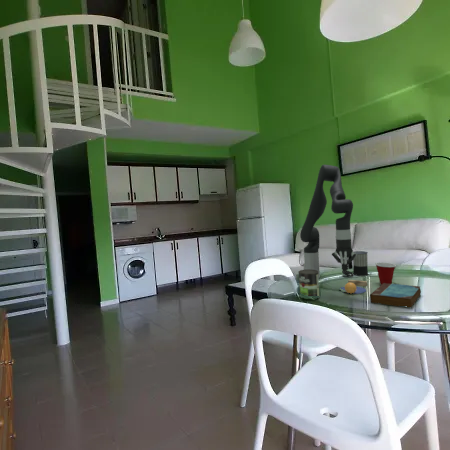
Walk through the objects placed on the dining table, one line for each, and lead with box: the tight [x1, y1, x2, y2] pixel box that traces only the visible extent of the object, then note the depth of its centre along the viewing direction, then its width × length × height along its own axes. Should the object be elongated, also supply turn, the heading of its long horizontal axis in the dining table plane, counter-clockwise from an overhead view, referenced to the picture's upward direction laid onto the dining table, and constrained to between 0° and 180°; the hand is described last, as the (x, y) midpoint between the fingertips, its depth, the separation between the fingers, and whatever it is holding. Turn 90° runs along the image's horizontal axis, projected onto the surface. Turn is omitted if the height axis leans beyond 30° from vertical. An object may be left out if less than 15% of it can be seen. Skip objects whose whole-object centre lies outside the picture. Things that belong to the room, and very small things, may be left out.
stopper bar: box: [347, 279, 368, 287], centre depth 189 cm, size 10×2×2 cm, turn 53°
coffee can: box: [298, 269, 320, 297], centre depth 173 cm, size 10×10×14 cm
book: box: [369, 283, 422, 308], centre depth 161 cm, size 23×18×5 cm
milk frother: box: [341, 250, 369, 278], centre depth 212 cm, size 14×16×15 cm
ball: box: [344, 282, 357, 295], centre depth 175 cm, size 6×6×6 cm
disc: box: [340, 286, 367, 295], centre depth 181 cm, size 14×14×1 cm
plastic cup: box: [375, 262, 397, 286], centre depth 186 cm, size 11×11×12 cm
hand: (345, 270), depth 170 cm, fingers closed
